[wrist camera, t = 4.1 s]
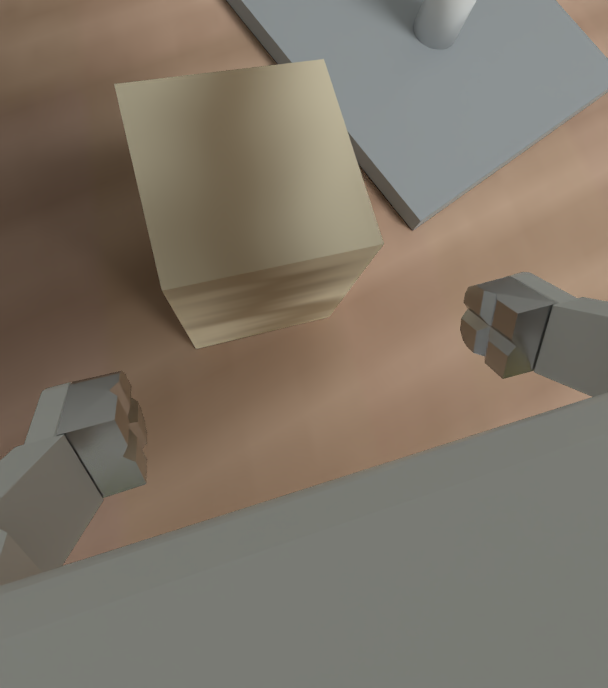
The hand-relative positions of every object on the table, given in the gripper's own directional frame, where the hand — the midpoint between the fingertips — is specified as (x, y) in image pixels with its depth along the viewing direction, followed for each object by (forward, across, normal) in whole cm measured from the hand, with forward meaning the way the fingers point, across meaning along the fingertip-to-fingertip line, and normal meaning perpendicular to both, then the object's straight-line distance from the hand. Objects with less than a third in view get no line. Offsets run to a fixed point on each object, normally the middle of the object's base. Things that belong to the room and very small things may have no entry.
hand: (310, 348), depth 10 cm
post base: (+18, -13, -5) cm, 23 cm away
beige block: (+10, 0, +2) cm, 11 cm away
